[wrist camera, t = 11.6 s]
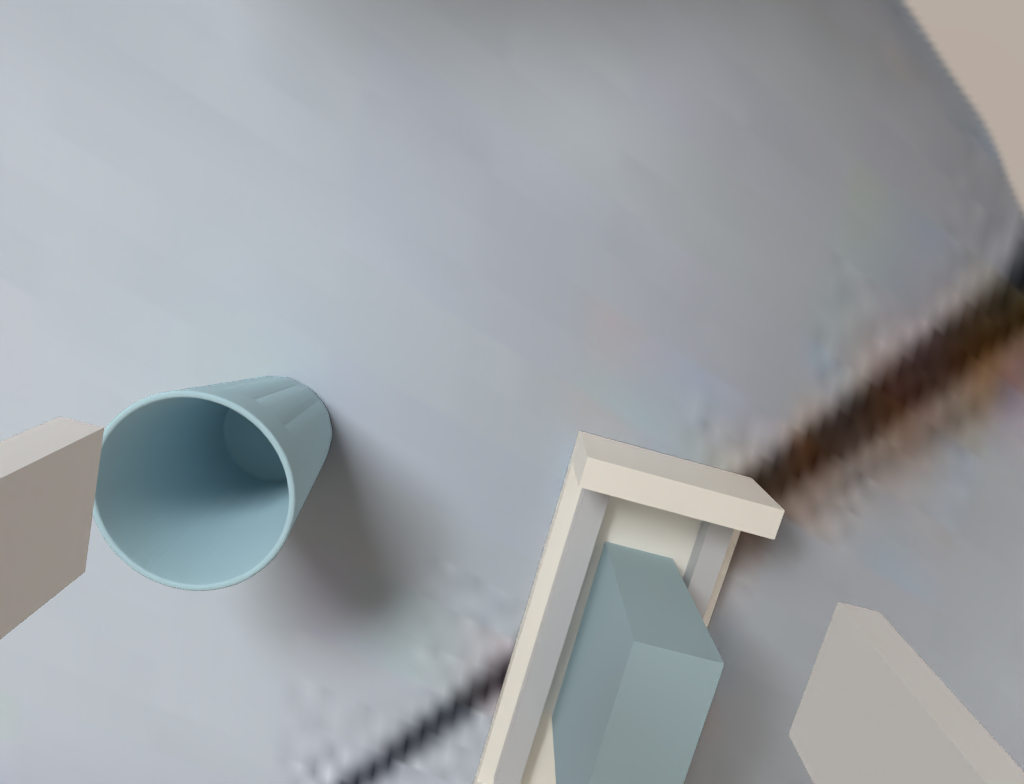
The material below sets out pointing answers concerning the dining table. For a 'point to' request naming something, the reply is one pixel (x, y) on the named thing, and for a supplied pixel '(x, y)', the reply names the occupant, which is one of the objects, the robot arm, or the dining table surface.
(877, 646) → the robot arm
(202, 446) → the cup
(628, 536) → the track board
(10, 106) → the dining table surface
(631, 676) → the door panel
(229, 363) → the dining table surface
